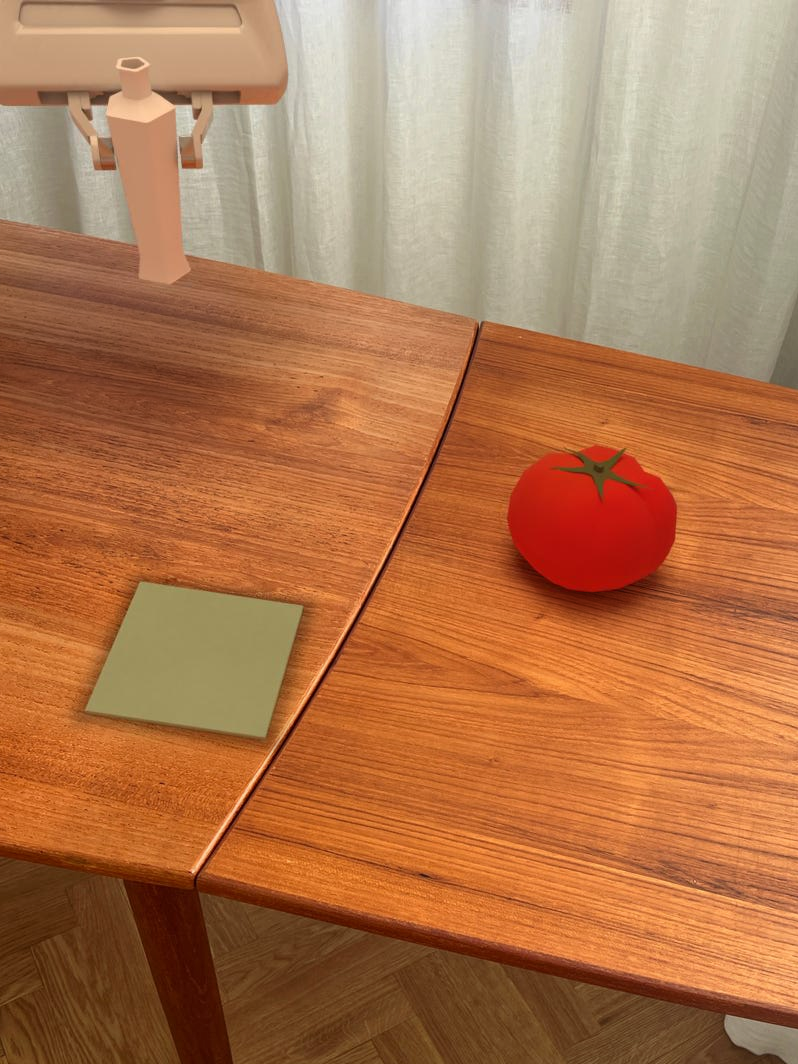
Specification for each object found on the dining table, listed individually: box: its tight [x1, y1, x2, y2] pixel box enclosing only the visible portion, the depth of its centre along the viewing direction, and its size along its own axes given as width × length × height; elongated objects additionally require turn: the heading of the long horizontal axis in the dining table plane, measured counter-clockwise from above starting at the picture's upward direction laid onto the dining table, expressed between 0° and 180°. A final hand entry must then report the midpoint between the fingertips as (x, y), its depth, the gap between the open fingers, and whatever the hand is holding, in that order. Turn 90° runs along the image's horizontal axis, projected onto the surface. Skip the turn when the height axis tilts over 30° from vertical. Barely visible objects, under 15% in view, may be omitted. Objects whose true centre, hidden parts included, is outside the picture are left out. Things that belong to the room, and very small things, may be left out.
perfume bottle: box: [105, 57, 192, 285], centre depth 80 cm, size 5×4×15 cm
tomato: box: [506, 444, 678, 593], centre depth 86 cm, size 11×13×10 cm
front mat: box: [84, 581, 305, 741], centre depth 80 cm, size 12×12×1 cm
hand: (149, 167), depth 79 cm, fingers closed on perfume bottle, 4 cm apart
